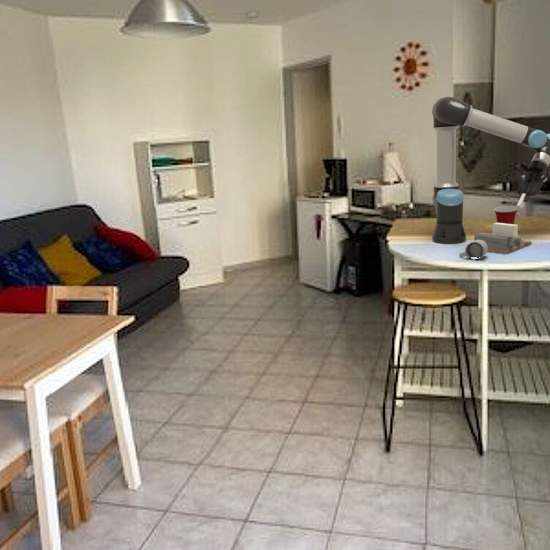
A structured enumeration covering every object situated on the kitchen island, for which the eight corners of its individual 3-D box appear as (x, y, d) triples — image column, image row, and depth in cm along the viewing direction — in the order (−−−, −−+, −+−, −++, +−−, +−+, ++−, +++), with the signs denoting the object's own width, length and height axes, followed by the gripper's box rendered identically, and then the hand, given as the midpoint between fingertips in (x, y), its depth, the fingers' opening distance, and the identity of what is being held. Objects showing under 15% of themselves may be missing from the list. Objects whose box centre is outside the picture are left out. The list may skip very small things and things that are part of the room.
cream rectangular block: (495, 240, 255) (496, 222, 252) (517, 242, 247) (518, 224, 245) (492, 241, 253) (492, 223, 251) (513, 244, 245) (514, 226, 243)
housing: (496, 240, 262) (497, 226, 260) (531, 244, 250) (532, 229, 248) (471, 249, 248) (471, 234, 246) (506, 254, 236) (507, 239, 234)
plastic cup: (487, 232, 279) (488, 207, 276) (504, 229, 283) (506, 205, 279) (504, 235, 269) (505, 210, 266) (521, 232, 273) (523, 207, 270)
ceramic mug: (488, 256, 236) (489, 238, 234) (484, 260, 229) (484, 242, 227) (462, 254, 241) (462, 237, 239) (457, 259, 235) (457, 241, 233)
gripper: (556, 170, 256) (536, 213, 251) (527, 169, 266) (508, 210, 261) (551, 159, 252) (531, 203, 246) (522, 159, 262) (502, 201, 256)
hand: (519, 207), depth 253 cm, fingers closed
